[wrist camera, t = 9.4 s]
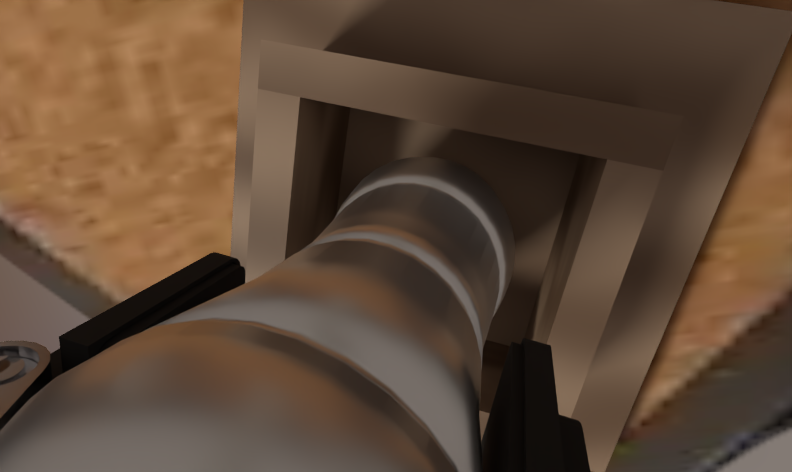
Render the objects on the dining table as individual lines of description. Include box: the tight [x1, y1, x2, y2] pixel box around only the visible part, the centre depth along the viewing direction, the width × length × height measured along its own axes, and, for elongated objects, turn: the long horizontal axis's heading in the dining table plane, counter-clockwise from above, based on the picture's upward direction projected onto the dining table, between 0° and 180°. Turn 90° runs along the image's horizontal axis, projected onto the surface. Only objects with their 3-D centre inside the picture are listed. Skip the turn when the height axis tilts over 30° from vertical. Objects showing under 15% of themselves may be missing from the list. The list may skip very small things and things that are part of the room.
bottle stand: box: [231, 0, 792, 472], centre depth 19 cm, size 20×20×6 cm
